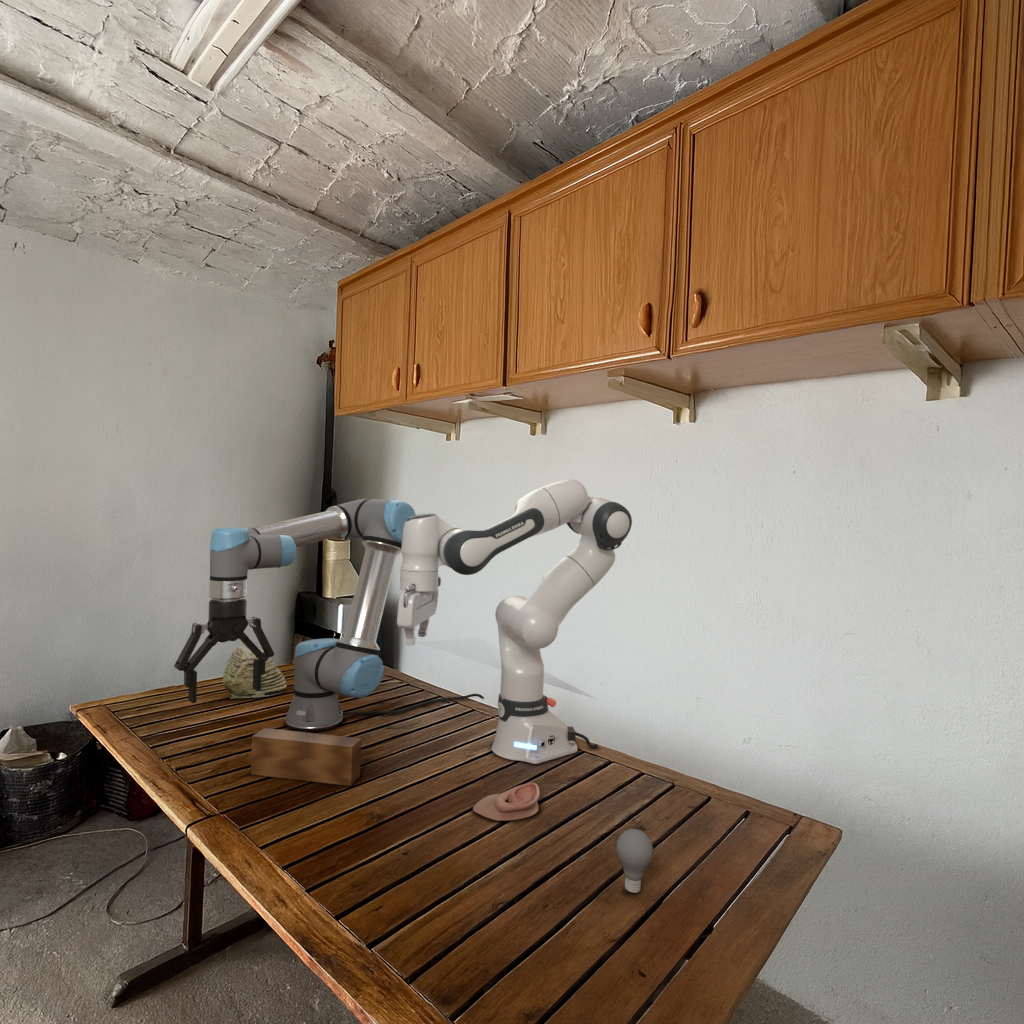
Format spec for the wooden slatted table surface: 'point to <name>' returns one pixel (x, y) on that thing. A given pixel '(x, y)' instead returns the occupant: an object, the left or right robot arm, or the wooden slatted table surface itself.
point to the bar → (306, 756)
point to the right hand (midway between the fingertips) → (416, 640)
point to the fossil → (251, 676)
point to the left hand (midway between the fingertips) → (225, 695)
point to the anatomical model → (510, 803)
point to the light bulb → (634, 857)
